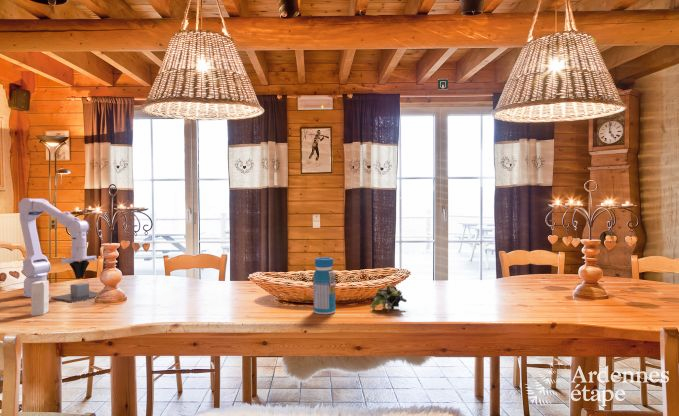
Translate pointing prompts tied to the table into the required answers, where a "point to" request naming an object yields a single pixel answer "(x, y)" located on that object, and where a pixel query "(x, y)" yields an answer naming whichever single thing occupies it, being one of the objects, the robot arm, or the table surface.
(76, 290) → the grey cube
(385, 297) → the green leafy plant
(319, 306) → the beverage bottle
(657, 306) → the table surface
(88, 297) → the dark grey flat block
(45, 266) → the robot arm
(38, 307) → the skincare box
